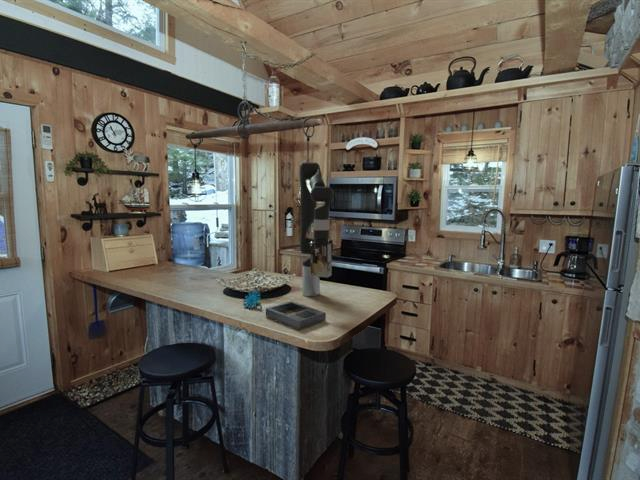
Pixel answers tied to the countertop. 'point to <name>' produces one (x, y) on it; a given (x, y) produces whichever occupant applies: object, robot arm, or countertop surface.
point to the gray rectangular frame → (296, 315)
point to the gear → (252, 300)
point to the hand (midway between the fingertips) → (321, 262)
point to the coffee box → (322, 261)
